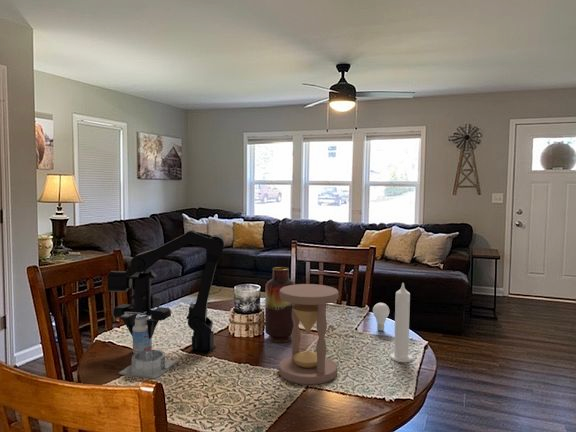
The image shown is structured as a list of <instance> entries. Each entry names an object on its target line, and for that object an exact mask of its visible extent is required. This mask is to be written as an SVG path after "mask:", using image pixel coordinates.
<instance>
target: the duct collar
mask: <svg viewBox="0 0 576 432" xmlns="http://www.w3.org/2000/svg"><path fill="white" fill-rule="evenodd" d="M176 364H177V361H176V360H168V359H167V360H166V352H165V351H163V350H161V349H152V350H144V351H140V352H137V353H133V354H132V355H131V364H130V365H128V366H127V367H125V368H124V369H122V370H121V371H119V372H118V375H121V376H128V377H129V376H130V377H138V378H144V379H152V380H157V379H158V378H160V377H161V376H162V375H163V374H164V373H165V372H167V371H168V370H170V369H171V368H172V367H174V366H175V365H176Z"/></svg>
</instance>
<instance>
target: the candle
mask: <svg viewBox="0 0 576 432" xmlns="http://www.w3.org/2000/svg"><path fill="white" fill-rule="evenodd" d="M394 302H395V303H394V305H395V306H394V307H395V308H394V309H395V311H394V340H393V341H394V345H393V346H394V348H393V353H390V354H389V358H390V359H391V360H392V361H394V362H398V363H409V362H412V361H413V356H412V355H411V354H409V346H410V345H409V342H410V341H409V340H410V339H409V338H410V312H411V311H410V310H411V309H410V307H411V306H410V305H411V303H410V302H411V293H410V292H409V291H408V290H407V289H406V287H405V283H404V282H402V283H401V287H400V289H398V290H397V291H396V292H395V300H394Z"/></svg>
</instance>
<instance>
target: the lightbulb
mask: <svg viewBox="0 0 576 432" xmlns="http://www.w3.org/2000/svg"><path fill="white" fill-rule="evenodd" d="M389 314H390V308H389V306H388V305H387V304H386V303H384V302H378V303H376V304H375V305H374V306H373V307H372V315H373V316H374V318H375V320H376V325H377V327H376V328H377V330H378V331H379V332H383V331H384V330H385V323H386V320H387V318H388V317H389Z"/></svg>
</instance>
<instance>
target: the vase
mask: <svg viewBox="0 0 576 432" xmlns="http://www.w3.org/2000/svg"><path fill="white" fill-rule="evenodd" d="M289 271H290V269H289V267H285V266H275V267H272V279H270V280H268V281H267V283H265V293H264V295H265V297H264V298H265V301H264V303H265V304H264V305H265V307H264V308H265V313H264V315H265V316H264V319H265V322H264V323H265V324H264V327H265V328H264V329H265V330H264V331H265V334H266V335H268V337H267V340H268V341H269V342H271V343H275V344H285V343H289V342H292V339H291V333H292V330H293V326H294V324H293V320H292V307H293V303H290V302H286V301H284V300H282V299H280V289H281V288H283V287H285V286H289V285H296V283H295V282H294V281H293V280H292V279H290V272H289Z"/></svg>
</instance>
